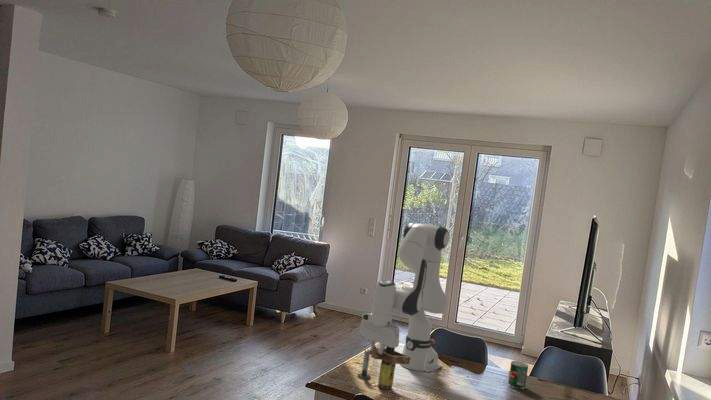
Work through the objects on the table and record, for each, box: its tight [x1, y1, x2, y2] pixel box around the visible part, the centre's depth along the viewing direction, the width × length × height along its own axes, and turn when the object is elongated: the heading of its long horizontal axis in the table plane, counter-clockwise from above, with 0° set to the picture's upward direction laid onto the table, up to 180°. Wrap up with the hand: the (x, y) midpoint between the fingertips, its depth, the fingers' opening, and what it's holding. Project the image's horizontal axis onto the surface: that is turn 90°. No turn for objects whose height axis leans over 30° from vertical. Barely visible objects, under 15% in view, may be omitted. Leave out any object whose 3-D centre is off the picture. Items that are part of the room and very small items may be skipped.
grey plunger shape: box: [356, 349, 371, 380], centre depth 252 cm, size 6×6×12 cm
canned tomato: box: [507, 360, 529, 388], centre depth 268 cm, size 8×8×11 cm
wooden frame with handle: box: [369, 347, 411, 365], centre depth 241 cm, size 16×12×4 cm
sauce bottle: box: [377, 346, 396, 390], centre depth 243 cm, size 7×6×20 cm
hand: (376, 351), depth 237 cm, fingers closed on wooden frame with handle, 2 cm apart
